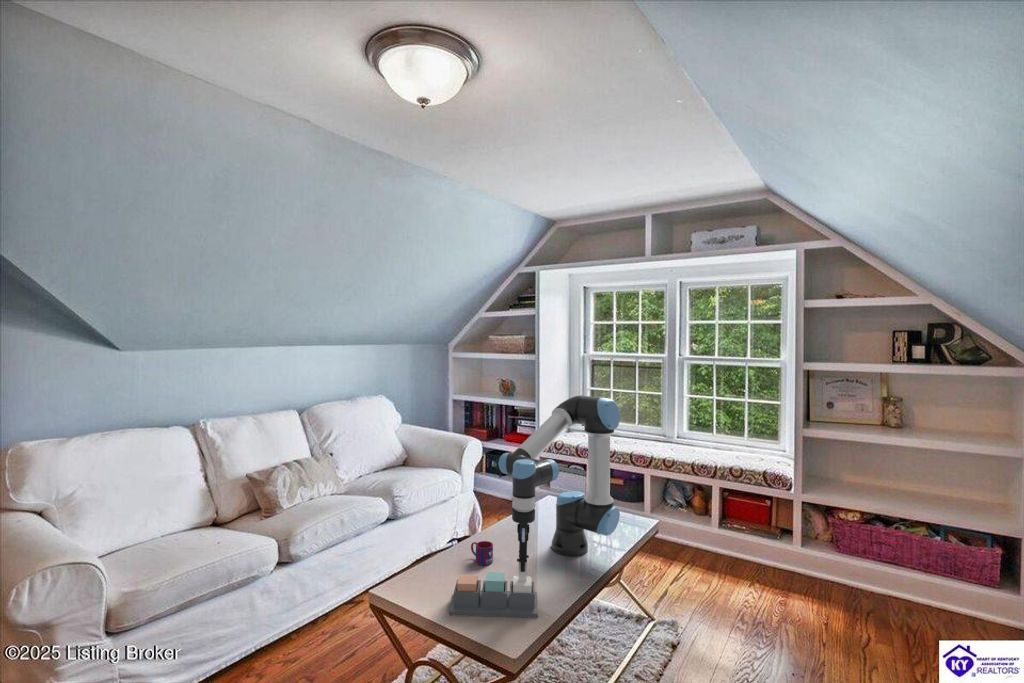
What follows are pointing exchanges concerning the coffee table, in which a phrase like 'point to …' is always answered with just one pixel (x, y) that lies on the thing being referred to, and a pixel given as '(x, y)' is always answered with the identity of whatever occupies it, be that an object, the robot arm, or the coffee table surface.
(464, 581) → the terracotta key
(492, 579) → the teal key
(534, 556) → the coffee table surface
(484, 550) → the mug
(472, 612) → the console
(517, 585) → the ivory key
